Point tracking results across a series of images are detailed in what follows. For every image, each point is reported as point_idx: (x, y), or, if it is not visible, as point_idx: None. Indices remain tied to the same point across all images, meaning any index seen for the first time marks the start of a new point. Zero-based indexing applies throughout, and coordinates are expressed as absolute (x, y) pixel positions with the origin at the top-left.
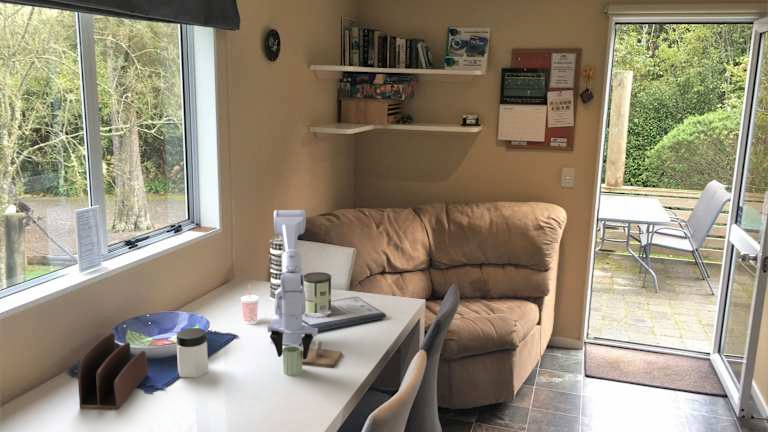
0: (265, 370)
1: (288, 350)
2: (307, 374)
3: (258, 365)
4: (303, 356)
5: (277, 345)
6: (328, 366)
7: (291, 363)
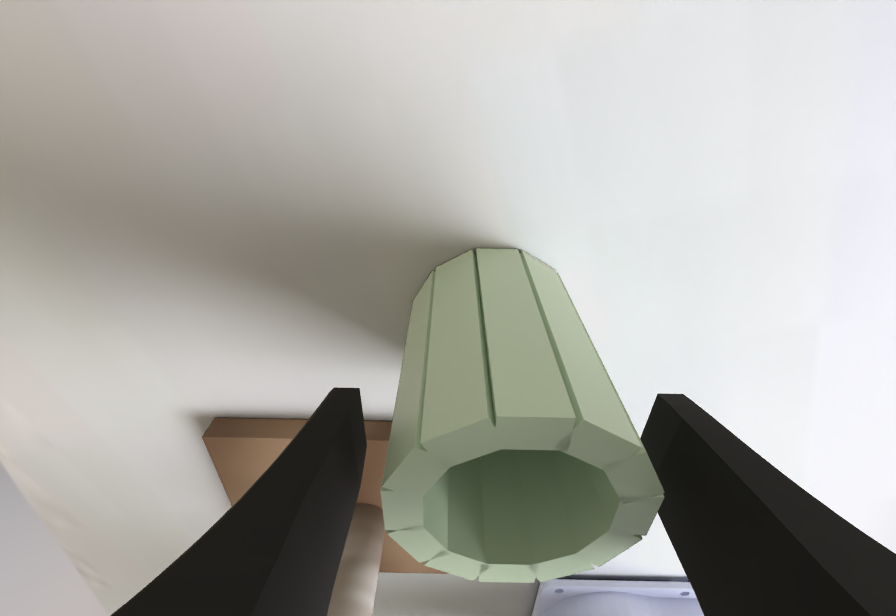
0: (734, 292)
1: (577, 497)
2: (350, 295)
3: (795, 357)
4: (337, 411)
5: (820, 542)
6: (249, 422)
7: (488, 312)
